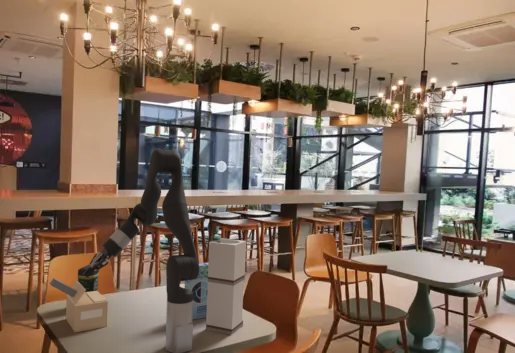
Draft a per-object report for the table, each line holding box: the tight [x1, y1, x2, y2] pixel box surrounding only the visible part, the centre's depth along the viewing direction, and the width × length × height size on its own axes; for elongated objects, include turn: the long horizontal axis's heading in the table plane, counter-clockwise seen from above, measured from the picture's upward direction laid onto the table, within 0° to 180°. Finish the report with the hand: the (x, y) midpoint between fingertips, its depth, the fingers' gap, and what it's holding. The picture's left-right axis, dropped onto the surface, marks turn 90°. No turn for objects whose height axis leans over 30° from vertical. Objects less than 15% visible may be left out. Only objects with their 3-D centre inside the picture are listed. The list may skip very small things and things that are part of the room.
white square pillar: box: [205, 237, 247, 336], centre depth 168 cm, size 11×11×35 cm
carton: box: [65, 290, 109, 333], centre depth 168 cm, size 16×12×10 cm
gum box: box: [184, 261, 209, 320], centre depth 182 cm, size 20×5×23 cm, turn 123°
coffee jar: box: [77, 263, 100, 292], centre depth 186 cm, size 10×8×19 cm
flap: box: [49, 277, 86, 304], centre depth 163 cm, size 14×6×11 cm
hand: (85, 275), depth 167 cm, fingers closed
